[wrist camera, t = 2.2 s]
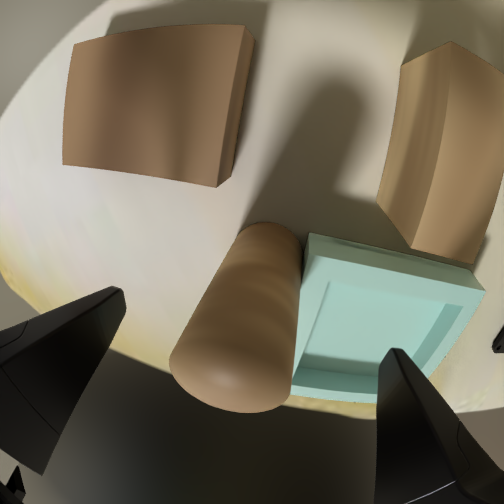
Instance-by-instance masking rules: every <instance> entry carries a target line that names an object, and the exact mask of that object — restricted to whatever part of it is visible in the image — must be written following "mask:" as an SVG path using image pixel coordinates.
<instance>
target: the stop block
mask: <svg viewBox="0 0 504 504" xmlns="http://www.w3.org/2000/svg"><path fill="white" fill-rule="evenodd" d="M503 172H504V74H503V73H502V72H500V71H499V70H497V69H496V68H495V67H493V66H492V65H490V64H489V63H487V62H486V61H484V60H483V59H481V58H479V57H478V56H476V55H475V54H473V53H471V52H470V51H468V50H466V49H464V48H463V47H461V46H459V45H457V44H455V43H454V42H452V41H451V42H448V43H446V44H444V45H442V46H440V47H437V48H435V49H433V50H431V51H429V52H427V53H425V54H423V55H421V56H419V57H417V58H415V59H413V60H411V61H409V62H407V63H405V64H404V65H402V66H401V71H400V80H399V89H398V96H397V103H396V110H395V116H394V122H393V128H392V133H391V138H390V143H389V148H388V153H387V158H386V162H385V167H384V171H383V175H382V179H381V184H380V188H379V191H378V195H377V199H376V202H377V203H378V205H379V206H380V207H381V209H382V210H383V211H384V212H385V214H386V215H387V216H388V218H389V219H390V220H391V222H392V223H393V224H394V226H395V227H396V228H397V230H398V231H399V232H400V234H401V235H402V237H403V238H404V239H405V241H406V242H407V244H408V245H409V246H410V248H412V249H416V250H420V251H424V252H427V253H431V254H435V255H439V256H443V257H446V258H450V259H454V260H457V261H461V262H465V263H468V264H473V262H474V260H475V258H476V255H477V253H478V250H479V248H480V246H481V243H482V240H483V238H484V235H485V233H486V230H487V227H488V224H489V221H490V218H491V215H492V212H493V209H494V206H495V203H496V199H497V196H498V192H499V189H500V185H501V181H502V177H503Z"/></svg>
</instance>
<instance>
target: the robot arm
mask: <svg viewBox="0 0 504 504" xmlns="http://www.w3.org/2000/svg"><path fill="white" fill-rule="evenodd" d="M125 313H126V303H125V298H124V292H123V290H122V289H121V288H118V287H115V286H110V287H108V288H105V289H103V290H100V291H98V292H95V293H93V294H90V295H88V296H85V297H83V298H80V299H78V300H75V301H73V302H70V303H68V304H66V305H63V306H61V307H58V308H56V309H53V310H51V311H49V312H46V313H44V314H41V315H39V316H37V317H34V318H32V319H30V320H29V321H28V320H27V321H25V322H22V323H20V324H17V325H15V326H12V327H10V328H8V329H4V330H2V331H0V504H24V503H23V502H22V500H23V498H24V496H25V494H26V492H25V489H24V486H23V482H22V478H21V473H20V469H19V467H18V465H17V464H18V463H19V462H20V463H21V464H23V465H24V466H26V467H27V468H29V469H31V470H32V471H34V472H36V473H37V474H39V475H41V476H42V475H43V473H44V471H45V469H46V467H47V464H48V462H49V459H50V457H51V455H52V453H53V451H54V449H55V446H56V444H57V442H58V440H59V438H60V436H61V434H62V432H63V430H64V428H65V425H66V424H67V422H68V420H69V418H70V416H71V414H72V412H73V410H74V408H75V406H76V404H77V402H78V401H79V399H80V397H81V395H82V393H83V392H84V390H85V388H86V386H87V384H88V382H89V381H90V379H91V377H92V375H93V374H94V372H95V370H96V368H97V367H98V365H99V363H100V362H101V360H102V358H103V357H104V355H105V353H106V351H107V350H108V348H109V346H110V344H111V342H112V340H113V338H114V336H115V334H116V332H117V330H118V328H119V325H120V323H121V321H122V319H123V317H124V315H125ZM492 350H493V352H494V353H504V329H503V330H502V332H501V333H500V335H499V336H498V338H497V339H496V341H495V342H494V343H493V345H492ZM376 420H377V452H376V454H377V455H376V476H375V491H374V502H373V504H504V471H503V470H501V469H500V468H499V467H498V466H497V465H496V464H495V462H494V461H493V460H492V459H491V458H490V457H489V455H488V454H487V453H486V452H485V451H484V450H483V448H481V446H480V445H479V444H478V443H477V441H476V440H475V439H474V438H473V436H472V435H471V434H470V433H469V431H468V430H467V429H466V427H465V426H464V425H463V423H462V422H461V421H459V418H458V417H457V415H456V414H455V413H454V412H453V410H452V409H451V408H450V406H449V405H448V404H447V402H446V401H445V400H444V399H443V397H442V396H441V395H440V394H439V392H438V391H437V390H436V389H435V387H434V386H433V385H432V384H431V382H430V381H429V380H428V379H427V377H426V376H425V375H424V374H423V372H422V371H421V370H420V369H419V368H418V366H417V365H416V364H415V363H414V362H413V360H412V359H411V358H410V357H409V356H408V355H407V353H406V352H405V351H404V350H403V349H402V348H394V347H392V348H390V349H389V350H388V352H387V354H386V355H385V357H384V358H383V360H382V361H381V363H380V365H379V369H378V390H377V406H376Z"/></svg>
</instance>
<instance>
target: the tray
mask: <svg viewBox="0 0 504 504" xmlns="http://www.w3.org/2000/svg"><path fill="white" fill-rule="evenodd" d="M485 292H486V291H485V289H484V288H483V287H482V285H481V284H480V283H479V282H478V280H477V279H476V278H475V277H474V275H473V274H472V273H471V272H470V270H468V269H464V268H460V267H456V266H453V265H449V264H445V263H441V262H437V261H433V260H429V259H425V258H421V257H417V256H413V255H408V254H404V253H400V252H396V251H392V250H387V249H383V248H379V247H374V246H370V245H365V244H361V243H356V242H352V241H347V240H343V239H338V238H333V237H329V236H324V235H319V234H314V233H309V235H308V239H307V243H306V247H305V252H304V256H303V260H302V272H301V288H300V302H299V315H298V327H297V338H296V348H295V358H294V367H293V376H292V385H291V392H290V394H291V395H298V396H305V397H312V398H319V399H328V400H338V401H349V402H362V403H377V390H378V369H379V365H380V363H381V361H382V360H383V358H384V357H385V355H386V354H387V352H388V350H389V349H390V348H392V347H394V348H402V349H403V350H404V351H405V352H406V353H407V355H408V356H409V357H410V358H411V359H412V360H413V362H414V363H415V364H416V365H417V366H418V368H419V369H420V370H421V371H422V372H423V374H424V375H425V376H426V377H427V379H428V377H429V376H430V375H431V374H432V372H433V371H434V370H435V369H436V367H437V366H438V365H439V364H440V362H441V361H442V360H443V358H444V357H445V356H446V354H447V353H448V352H449V350H450V349H451V347H452V346H453V345H454V343H455V342H456V340H457V339H458V337H459V336H460V334H461V333H462V331H463V330H464V328H465V327H466V325H467V323H468V322H469V320H470V319H471V317H472V315H473V314H474V312H475V310H476V309H477V307H478V305H479V303H480V302H481V300H482V298H483V296H484V294H485Z"/></svg>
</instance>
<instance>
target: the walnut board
mask: <svg viewBox="0 0 504 504" xmlns="http://www.w3.org/2000/svg"><path fill="white" fill-rule="evenodd" d="M254 44H255V39H254V38H253V37H252V35H251V34H250V32H249V31H248V29H247V28H246V26H245V25H230V24H194V25H176V26H164V27H155V28H147V29H140V30H134V31H128V32H122V33H117V34H113V35H108V36H104V37H99V38H95V39H92V40H88V41H84V42H81V43H77V44H74V47H73V52H72V57H71V62H70V68H69V74H68V81H67V88H66V97H65V107H64V120H63V150H62V157H63V165H70V166H79V167H88V168H96V169H104V170H112V171H119V172H126V173H133V174H140V175H146V176H153V177H159V178H165V179H171V180H177V181H182V182H188V183H193V184H199V185H204V186H209V187H214V188H217V187H218V186H219V185H221V184H222V183H223V182H224V181H226V180H227V179H228V178H230V177H231V171H232V165H233V159H234V153H235V147H236V141H237V135H238V129H239V123H240V117H241V112H242V106H243V101H244V95H245V90H246V85H247V79H248V74H249V69H250V64H251V59H252V54H253V49H254Z"/></svg>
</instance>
